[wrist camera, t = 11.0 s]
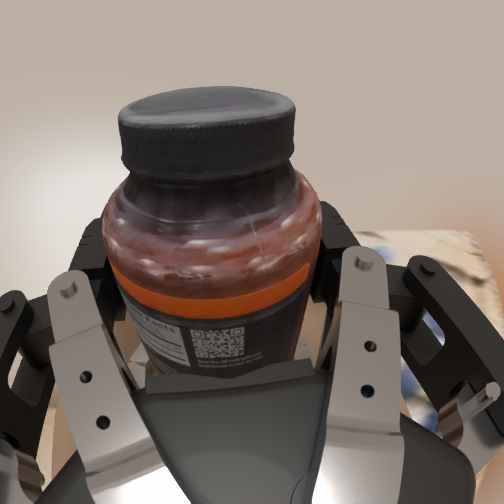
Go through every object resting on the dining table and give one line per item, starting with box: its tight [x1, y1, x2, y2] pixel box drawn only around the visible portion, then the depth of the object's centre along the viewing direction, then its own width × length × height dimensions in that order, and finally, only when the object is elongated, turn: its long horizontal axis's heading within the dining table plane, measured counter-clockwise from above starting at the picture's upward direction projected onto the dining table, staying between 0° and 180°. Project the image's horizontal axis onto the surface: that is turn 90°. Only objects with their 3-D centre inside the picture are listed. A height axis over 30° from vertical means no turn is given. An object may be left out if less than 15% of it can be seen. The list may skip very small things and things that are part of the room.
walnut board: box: [52, 294, 412, 480], centre depth 15 cm, size 20×14×3 cm
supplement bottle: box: [102, 86, 322, 379], centre depth 10 cm, size 6×6×11 cm
